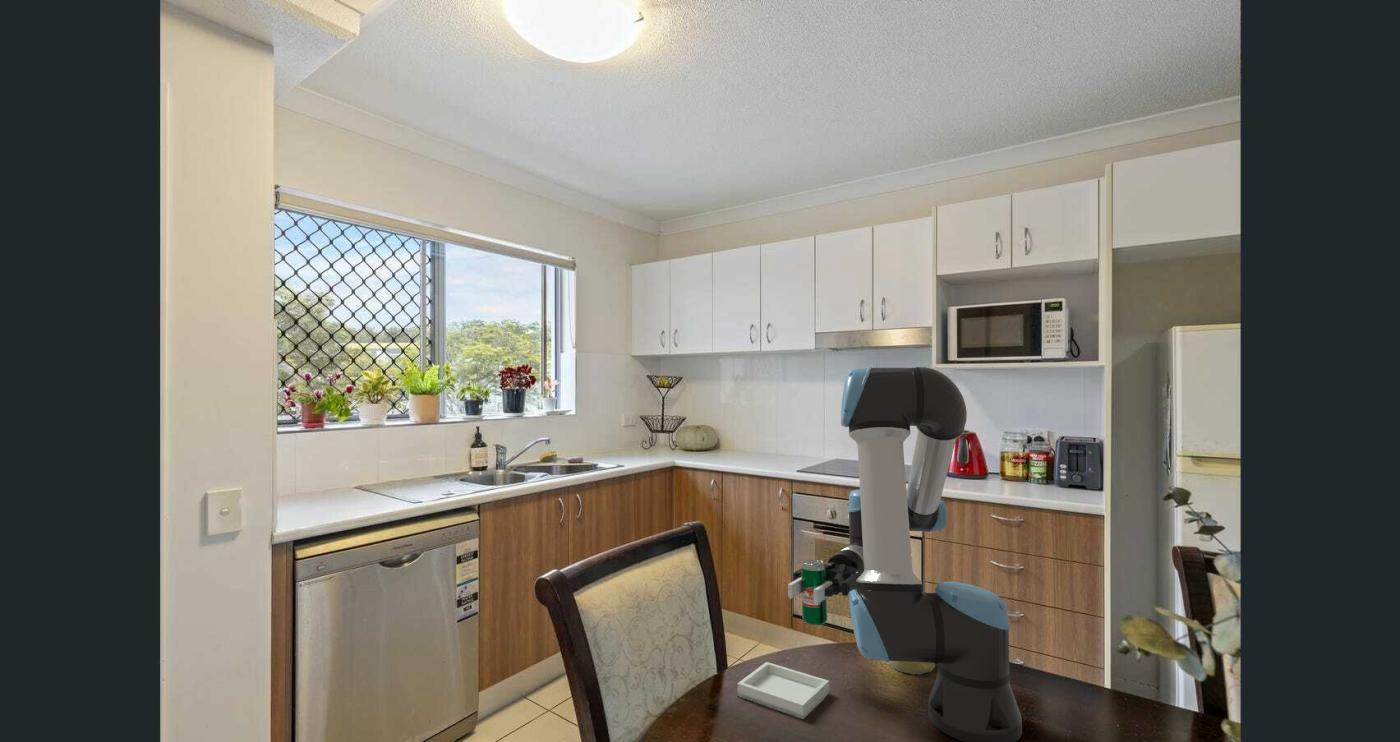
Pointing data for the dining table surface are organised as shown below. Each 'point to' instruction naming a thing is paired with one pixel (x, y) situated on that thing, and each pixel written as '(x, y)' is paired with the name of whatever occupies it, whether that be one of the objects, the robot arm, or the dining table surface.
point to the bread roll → (912, 667)
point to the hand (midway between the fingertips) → (802, 594)
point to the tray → (784, 689)
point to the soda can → (811, 579)
